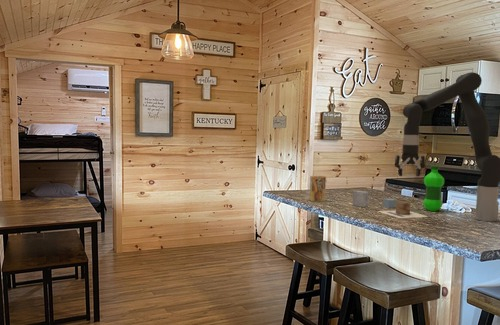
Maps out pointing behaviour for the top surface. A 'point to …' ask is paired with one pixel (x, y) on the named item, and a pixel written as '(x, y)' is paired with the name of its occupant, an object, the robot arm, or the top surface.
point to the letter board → (393, 213)
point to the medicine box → (360, 198)
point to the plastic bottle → (433, 189)
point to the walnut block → (403, 208)
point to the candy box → (317, 188)
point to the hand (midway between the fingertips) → (409, 176)
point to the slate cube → (389, 203)
